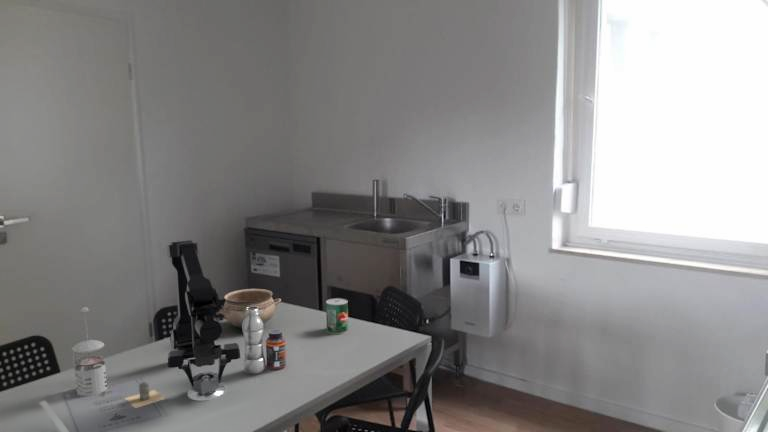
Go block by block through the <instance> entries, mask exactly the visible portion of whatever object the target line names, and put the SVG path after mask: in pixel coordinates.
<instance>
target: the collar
mask: <svg viewBox="0 0 768 432" xmlns="http://www.w3.org/2000/svg"><path fill="white" fill-rule="evenodd" d="M205 375H207V376H209V377H210V378H211V379H210V380H204V381H202V380H201V379H202V377H203V376H205ZM193 384H194V391H195V392H199V393H206V392H212V391H214V390H216V389H217V388H219V384H220V383H219V379H218V372H213V371H207V372H200V373H198V374H196V375H193Z"/></svg>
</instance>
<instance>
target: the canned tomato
mask: <svg viewBox="0 0 768 432" xmlns="http://www.w3.org/2000/svg"><path fill="white" fill-rule="evenodd" d="M348 302H349V301H348V299H346V298H340V297H335V298H330V299H327V300H326V301H325V304H326V305H325V308H326V314H325V315H326V332H327V333H328V334H331V335H342V334H346V333H348V331H349V308H348V307H349V305H348Z"/></svg>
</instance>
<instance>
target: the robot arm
mask: <svg viewBox="0 0 768 432" xmlns="http://www.w3.org/2000/svg"><path fill="white" fill-rule="evenodd" d="M166 255H167V258H169V259H168V260H169V262H170V264H171V265H172V267H174V270H175V283H176V284H175V285H176V299H177V315H176V317H175V319H174V321H173V329H171V332H170V333H171V334H170V344H171V347H172V349H173V350H170V351H169V352H168V353H167V365H168V368H170V369H171V368H172V369H174V368H178V369H179V370H183V371H184V373H185V374H186V376H187V379H188V380H189V383H190V385H191V388H193V387H194V384H193V377H194V375H193V372H192V371H193V370H192V365H194V366H196V367H197V368H201V367H205V366H212V365H215V361H216V360H218V369H217V373H218V379H219V384H221V381H222V377H223V374H224V370H225V368H226V366H227V365H228V364H229V363H232V361H233V360H239V359H241V350H240V346H239V344H238V343H237V342H232V343H224V344H223V348H222V344H215V342H216V341H217V340H218V339H219V338H220V337H221V335H222V333H223V327H222V324H221V323H220V321H219V320H217V318H216V316H215V313H218V312H220V309H221V301H220V297H219V294H218V291H217V290H216V288H215V287H214V286H213V284H212V281H211V280H210V279H209V278H207V277H206V276H205V275H204V272H203V269H202V265H201V262H200V258H199V256H198V255H200V252H199V243H198V242H193V240H192V239H190V240H189V239H187V240H178V241H177V240H176V241H171V242H169V244H168V245H167V246H166Z"/></svg>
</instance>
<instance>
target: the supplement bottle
mask: <svg viewBox="0 0 768 432" xmlns="http://www.w3.org/2000/svg"><path fill="white" fill-rule="evenodd" d="M265 346H266V348H265V349H266V350H265V352H266V353H265V355H266V367H267V369H270V370H276V371H277V370H282V369H284V368H285V367H286V366H287V353H286V350H287V348H286V338H285V337H284V336H283V331H282V330H281V329H272V330H269V331H268V337H267V338H266V340H265Z"/></svg>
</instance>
